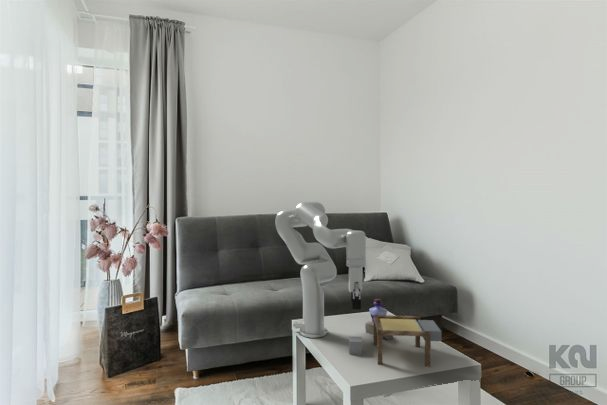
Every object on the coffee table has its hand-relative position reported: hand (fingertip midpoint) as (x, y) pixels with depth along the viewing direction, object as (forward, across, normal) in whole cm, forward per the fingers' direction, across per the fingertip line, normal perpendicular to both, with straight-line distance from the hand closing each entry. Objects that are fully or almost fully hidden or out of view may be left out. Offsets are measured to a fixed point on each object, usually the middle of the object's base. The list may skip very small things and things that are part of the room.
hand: (355, 305), depth 143 cm
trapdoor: (+10, +1, +20) cm, 23 cm away
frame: (+18, +1, +17) cm, 25 cm away
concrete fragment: (+19, -18, +11) cm, 28 cm away
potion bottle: (+18, -32, +12) cm, 39 cm away
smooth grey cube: (+18, 0, 0) cm, 18 cm away
